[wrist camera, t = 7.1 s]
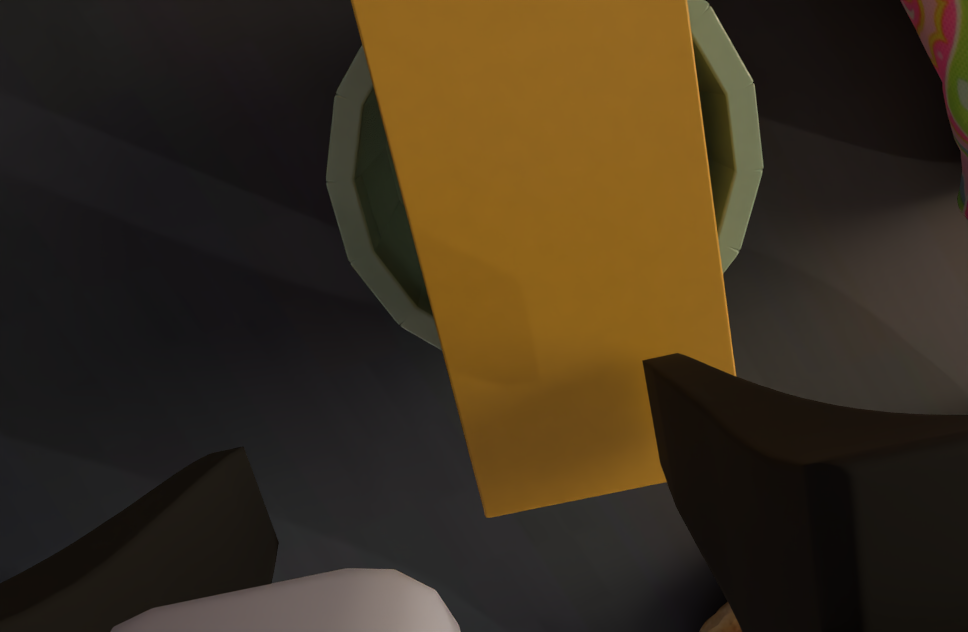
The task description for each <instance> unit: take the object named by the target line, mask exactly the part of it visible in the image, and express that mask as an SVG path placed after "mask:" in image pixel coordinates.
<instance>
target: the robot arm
mask: <svg viewBox="0 0 968 632" xmlns="http://www.w3.org/2000/svg"><path fill="white" fill-rule="evenodd" d="M642 362H643V368H644V374H645V379H646V385H647V391H648V397H649V402H650V408H651V414H652V419H653V425H654V431H655V437H656V442H657V448H658V454H659V459H660V464H661V467H662V470H663V472H664V475H665V478H666V481H667V483H668V486H669V489H670V491H671V494H672V497H673V499H674V502H675V504H676V507H677V509H678V511H679V513H680V515H681V517H682V519H683V520H684V522H685V524H686V526H687V528H688V530H689V532H690V533H691V535H692V537H693V539H694V541H695V543H696V544H697V546H698V548H699V550H700V552H701V554H702V555H703V557H704V559H705V561H706V563H707V564H708V566H709V568H710V570H711V572H712V574H713V575H714V577H715V579H716V581H717V583H718V584H719V586H720V588H721V590H722V592H723V594H724V595H725V597H726V599H727V601H728V603H729V605H730V607H731V609H732V611H733V613H734V615H735V617H736V619H737V621H738V623H739V625H740V628H741V630H742V632H968V415H924V414H905V413H890V412H881V411H873V410H864V409H856V408H849V407H843V406H837V405H832V404H827V403H823V402H818V401H813V400H809V399H804V398H800V397H796V396H793V395H789V394H785V393H782V392H779V391H776V390H773V389H770V388H767V387H763V386H760V385H758V384H755V383H752V382H749V381H747V380H744V379H741V378H739V377H736V376H734V375H731V374H729V373H726V372H724V371H722V370H719V369H717V368H714V367H712V366H710V365H707V364H705V363H703V362H700V361H698V360H696V359H693V358H691V357H688V356H686V355H683V354H680V353H674V354H670V355H665V356H661V357H656V358H651V359H647V360H642ZM278 543H279V542H278V540H277V537H276V534H275V531H274V529H273V526H272V523H271V521H270V518H269V515H268V512H267V510H266V507H265V504H264V501H263V499H262V496H261V493H260V491H259V488H258V485H257V482H256V480H255V477H254V474H253V471H252V469H251V466H250V463H249V461H248V458H247V455H246V452H245V450H244V447H239V448H234V449H230V450H225V451H220V452H216V453H211V454H209V455H207V456H204V457H202V458H200V459H199V460H197V461H195V462H193V463H192V464H190V465H188V466H187V467H185V468H184V469H182V470H181V471H179V472H178V473H176V474H175V475H173V476H172V477H170V478H169V479H167V480H166V481H164V482H163V483H162V484H160V485H159V486H157V487H156V488H154V489H153V490H152V491H150V492H149V493H147V494H146V495H144V496H143V497H142V498H140V499H139V500H137V501H136V502H134V503H133V504H132V505H130V506H129V507H127V508H126V509H124V510H123V511H121V512H120V513H118V514H117V515H115V516H114V517H112V518H111V519H109V520H108V521H106V522H105V523H103V524H102V525H100V526H99V527H97V528H96V529H94V530H93V531H91V532H89V533H88V534H86V535H85V536H83V537H82V538H80V539H79V540H77V541H76V542H74V543H72V544H71V545H69V546H68V547H66V548H64V549H63V550H61V551H59V552H58V553H56V554H54V555H52V556H51V557H49V558H47V559H45V560H44V561H42V562H40V563H38V564H36V565H35V566H33V567H31V568H29V569H27V570H26V571H24V572H22V573H20V574H18V575H16V576H14V577H12V578H10V579H9V580H7V581H4V582H2V583H0V632H461V631H460V628H459V625H458V623H457V622H456V620H455V618H454V617H453V615H452V614H451V612H450V611H449V609H448V608H447V606H446V605H445V603H444V602H443V600H442V599H441V597H440V596H439V594H438V593H437V591H436V590H434V589H432V588H430V587H428V586H426V585H424V584H422V583H420V582H418V581H417V580H415V579H413V578H411V577H409V576H407V575H405V574H403V573H401V572H399V571H397V570H395V569H354V568H345V569H341V570H336V571H331V572H326V573H321V574H316V575H311V576H306V577H302V578H297V579H292V580H287V581H282V582H277V583H272V578H273V573H274V568H275V562H276V556H277V549H278ZM271 583H272V584H271Z"/></svg>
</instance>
